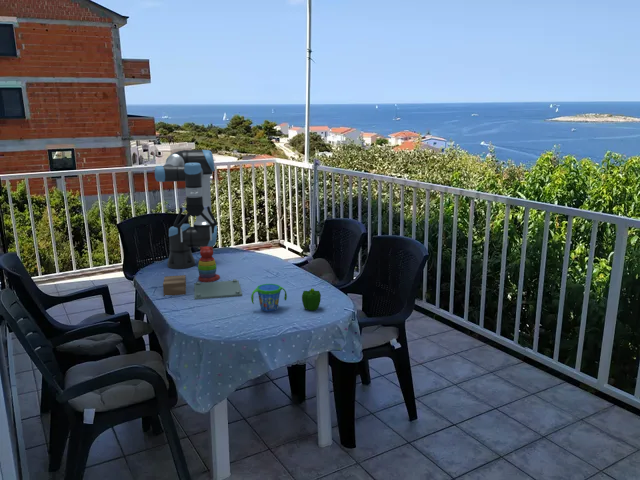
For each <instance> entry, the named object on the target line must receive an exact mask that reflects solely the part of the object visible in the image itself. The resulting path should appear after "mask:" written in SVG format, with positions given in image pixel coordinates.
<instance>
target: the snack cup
mask: <svg viewBox="0 0 640 480" xmlns="http://www.w3.org/2000/svg"><path fill="white" fill-rule="evenodd" d="M282 290H283V292H284V298H283V300H284V301H287V299H288V295H287V291H286V289H285V288H284V287H282V286H281V285H279V284H276V283H262V284H260V285H259V284H258V286H256V288H255V289H254V290H253V291H252V292H251V296H250V300H251V302H252V304H253V305H254V304H255V303H254V295H255V293H257V294H258V299H259V300H258V301H259V306H260V310H261V311H263V312H266V313H267V312H274V311H276V310H278V308H279V302H280V294H281V292H282Z"/></svg>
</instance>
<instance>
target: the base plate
mask: <svg viewBox="0 0 640 480" xmlns="http://www.w3.org/2000/svg"><path fill="white" fill-rule="evenodd" d="M193 287H194V290H193V291H194V292H193V293H194V295H193V296H194V297H193V299H194V300H206V299H221V298H234V297H242V296H243V292H242V287H241V284H240V280H238V279H237V278H233V279H232V280H223V281H213V282H201V281H196V283H193Z"/></svg>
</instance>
